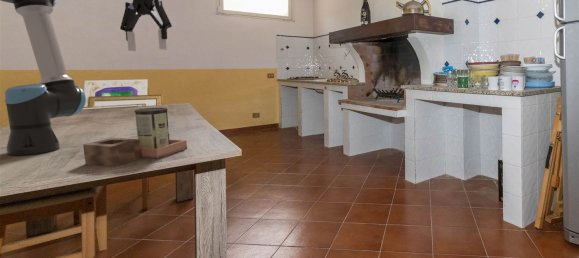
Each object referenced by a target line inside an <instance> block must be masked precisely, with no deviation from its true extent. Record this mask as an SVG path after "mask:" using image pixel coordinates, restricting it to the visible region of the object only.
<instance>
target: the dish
mask: <svg viewBox="0 0 579 258" xmlns="http://www.w3.org/2000/svg"><path fill="white" fill-rule="evenodd" d="M169 140H170V145H166V146H163V147H160V148H157V149H156V148H143V147H140V148H141V158H145V159H156V160H157V159H161V158H163V157H166V156H169V155H173V154H175V153H177V152H181V151H184V150H186V149H188V145H187V140H186V139H174V138H173V139H172V138H169Z"/></svg>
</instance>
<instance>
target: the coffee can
mask: <svg viewBox="0 0 579 258" xmlns="http://www.w3.org/2000/svg"><path fill="white" fill-rule="evenodd" d="M134 113H135V123H136V124H135V126H136V133H137V135H136V136H137V139H140V147H143V148H156V149H157V148H160V147H163V146H166V145H170V140H169V139H170V134H169V133H170V131H169V130H170V129H169V118H168V116H169V115H168V108H167V107H147V108H140V109H139V108H137V109H135V110H134Z"/></svg>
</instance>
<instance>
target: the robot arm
mask: <svg viewBox="0 0 579 258" xmlns="http://www.w3.org/2000/svg"><path fill="white" fill-rule="evenodd" d="M0 1H1V2H5V3H10V4H12V5H13V7H14V11H15V12H16V13H17V14H18V15H20V16H21V17H22V19H23V22H24V25H25V29H26V32H27V36H28V38H29V41H30V45H31V49H32V52H33V54H34V55H33V57H34V59H35V62H36V65H37V69H38V72H39V75H40V78H41V80H40V81H39V83H30V84H22V85H21V84H19V85H14V86H11V87H8V88H6V90H5V92H4V95H5V96H4V99H5V100H4V102H5V106H6V110H7V117H8V125H9V130H10V131H9V136H8V138H7V139H8V140H7V144H6V154H7V155H8V154H9V156H27V155H38V154H43V153H48V152H49V153H50V152H52V151H56V150H58V149H60V141H59V139H58V138H57V136H56V133H55V132H54V130H53V128H52V124H51V119H55V118H57V119H58V118H63V117H72V116H74V115H77V114H79V113H80V112H82V111H83V109H84V107H85V105H86V102H87V101H86V99H87V98H86V93H85V91H84V90H83V88H81V86H77V85H76V84H75V83H76V82H75V81H74V79H73V78H72V77H70V76H69V75H68V72H67V69H66V65H65V61H64V59H63V55H62V52H61V48H60V43H59V42H58V39H57V34H56V32H55V28H54V24H53V21H52V18H51V14H52V13H53V12H54V7H55V5H56V0H0ZM124 5H125V8H124V11H123V15H122V19H121V24H120V27H119V28H120V30H122V31H124V32H125V40H126V41H127V49H128V51H130V52H131V51H132V52H135V51H137V47H136V38H135V37H136V36H135V31H134V29H135V26H136V25H137V23H138V21H139V20H140V18H141V17H142V16H150V17H151V19H152V20H153V21H154V23H155V24H156V25H157V26H158V29H157V36H158V46H159V47H158V48H159V50H167V40H168V29H169V28H172V26H173V25H172V23H171V21H170V19H169V17H168V15H167V13H166V11H165V8H164V5H163V0H132V2H129V1H126V2H125V4H124ZM154 8H155V9H154Z"/></svg>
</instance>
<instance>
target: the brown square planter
mask: <svg viewBox="0 0 579 258" xmlns="http://www.w3.org/2000/svg"><path fill="white" fill-rule="evenodd" d="M82 148H83V155H84V163H85V165H94V166H101V167H102V166H103V167H113V168H114V167H116V166H120V165H123V164H126V163H129V162H132V161H135V160H139V159H141V158H142V157H141V148H140V139H138V138H124V137H123V138H122V137H110V138H105V139H102V140H97V141H92V142H89V143H84V144H82Z"/></svg>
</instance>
